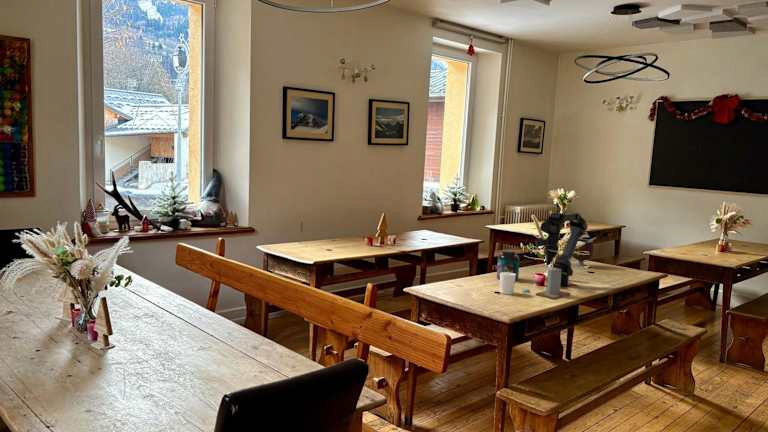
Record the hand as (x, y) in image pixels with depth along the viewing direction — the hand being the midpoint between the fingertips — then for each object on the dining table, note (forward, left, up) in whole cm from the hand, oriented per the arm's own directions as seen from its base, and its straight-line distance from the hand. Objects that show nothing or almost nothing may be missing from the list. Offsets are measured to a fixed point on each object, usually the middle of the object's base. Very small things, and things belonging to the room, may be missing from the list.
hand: (547, 265), depth 294 cm
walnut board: (+7, +8, -13) cm, 17 cm away
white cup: (+24, -8, -13) cm, 28 cm away
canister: (+7, +8, -12) cm, 16 cm away
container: (-4, -28, -13) cm, 31 cm away
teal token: (+13, -4, -13) cm, 19 cm away
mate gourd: (-79, -24, -13) cm, 84 cm away
